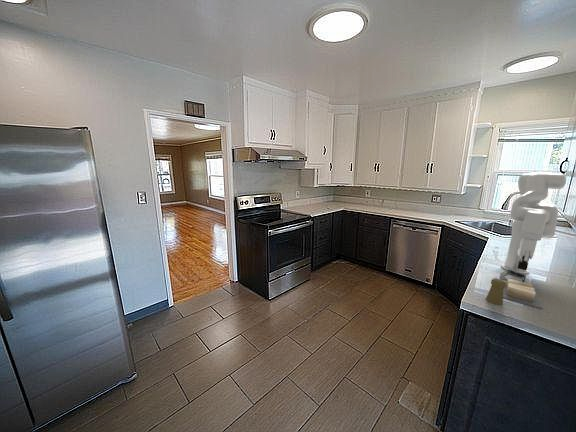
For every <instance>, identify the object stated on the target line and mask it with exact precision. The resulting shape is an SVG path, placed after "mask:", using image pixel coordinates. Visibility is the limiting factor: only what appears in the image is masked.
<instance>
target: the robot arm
mask: <svg viewBox="0 0 576 432" xmlns="http://www.w3.org/2000/svg"><path fill="white" fill-rule="evenodd" d="M566 183H567V177H566V175H565V174H564V173H559V172H555V173H554V172H553V173H552V172H528V173H523V174H521V175H520V176H519V178H518V183H517V187H518V191H519V193H520V196H518V197H517V198H516V199H515V200H514V201H513V202H512V205H511V209H510V219H511V220H513V222H512V224H511V236H510V241H509V246H508V250H507V254H506V258H505V262H503V263H501V264H500V267H501V268H502V269H504V270H505V271H507V270H512V271H514V272H515V273H519V274H523V275H526V274H529V273H530V270H529V269H528V265H529V261H530V260H532V259H533V257H534V255H535V251H536V248H537V247H536V246H537V243H538V241H542V239H545V240H546V239H547V240H548V239H549V240H550V239H553V238H554V236H555V234H556V230H557V222H558V215H559V210H558V207H557V206H556V205H553V204H549V203H546V204H545V203H541V202H542V201H543V200H546V199H547V198H548V196H549V195H548V194H549V190H561V189H563V188H564V187H565V185H566Z"/></svg>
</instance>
